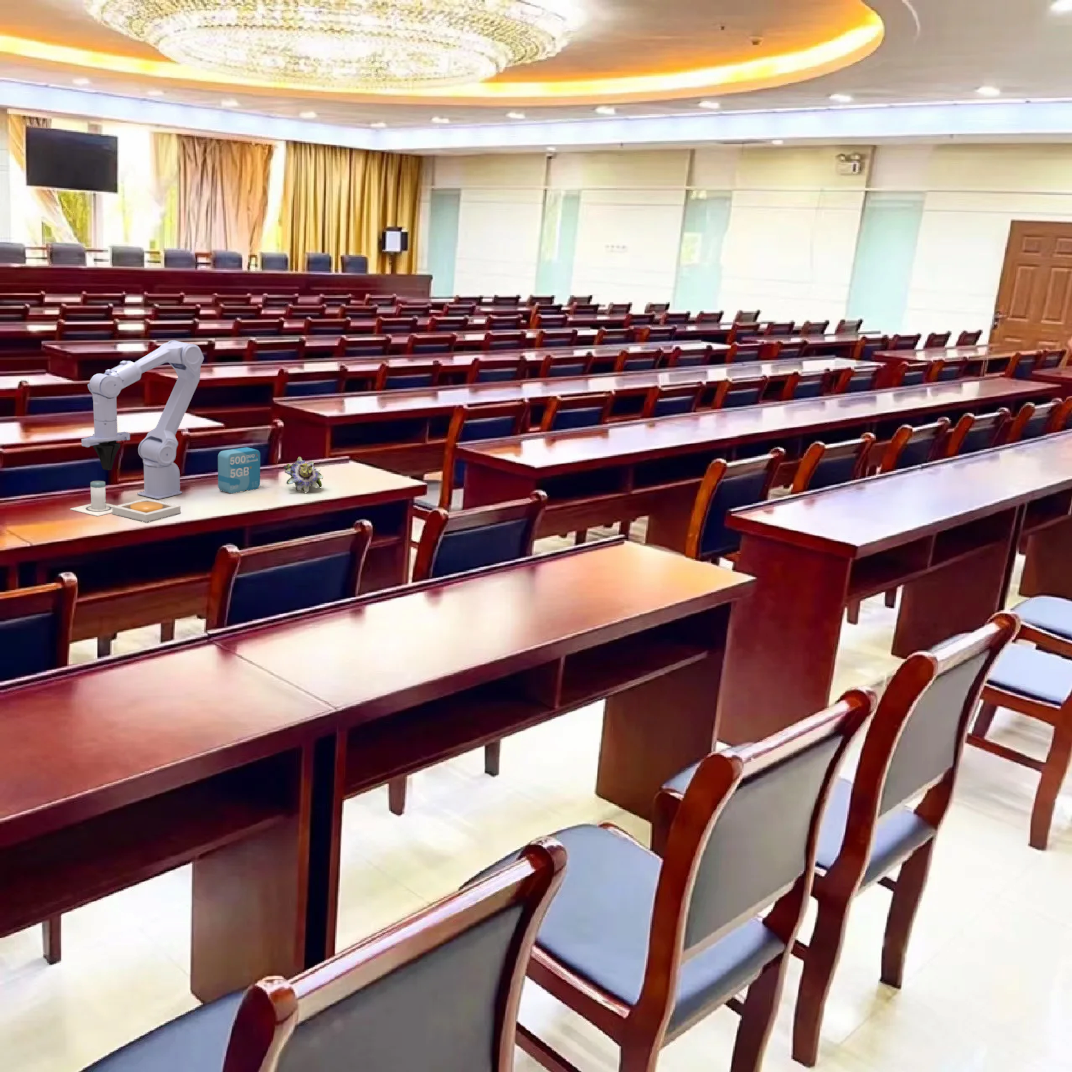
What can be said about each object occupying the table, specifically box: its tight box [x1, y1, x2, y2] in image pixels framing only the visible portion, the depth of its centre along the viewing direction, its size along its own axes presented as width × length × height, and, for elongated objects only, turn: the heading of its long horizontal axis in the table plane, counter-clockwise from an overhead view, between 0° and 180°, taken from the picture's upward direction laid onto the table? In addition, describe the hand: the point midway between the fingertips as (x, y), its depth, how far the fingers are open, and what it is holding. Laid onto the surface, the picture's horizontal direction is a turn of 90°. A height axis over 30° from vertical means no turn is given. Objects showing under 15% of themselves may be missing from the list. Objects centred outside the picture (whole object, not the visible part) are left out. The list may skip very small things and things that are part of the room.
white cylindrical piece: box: [89, 480, 107, 510], centre depth 275 cm, size 4×4×7 cm
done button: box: [130, 502, 163, 513], centre depth 275 cm, size 8×8×2 cm
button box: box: [111, 497, 181, 523], centre depth 276 cm, size 12×12×2 cm
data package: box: [217, 447, 261, 494], centre depth 306 cm, size 12×4×12 cm, turn 145°
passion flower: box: [283, 456, 324, 493], centre depth 313 cm, size 11×11×12 cm
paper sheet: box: [69, 502, 117, 517], centre depth 276 cm, size 10×10×1 cm
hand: (107, 469), depth 280 cm, fingers closed
